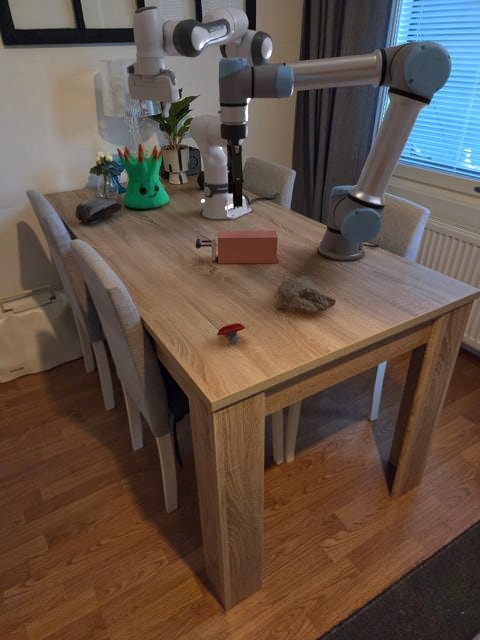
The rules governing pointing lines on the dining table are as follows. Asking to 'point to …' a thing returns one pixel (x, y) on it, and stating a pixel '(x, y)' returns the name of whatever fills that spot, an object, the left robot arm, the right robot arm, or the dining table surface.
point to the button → (231, 331)
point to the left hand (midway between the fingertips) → (155, 115)
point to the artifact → (302, 296)
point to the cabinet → (247, 246)
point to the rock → (96, 209)
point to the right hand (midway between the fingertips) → (235, 199)
